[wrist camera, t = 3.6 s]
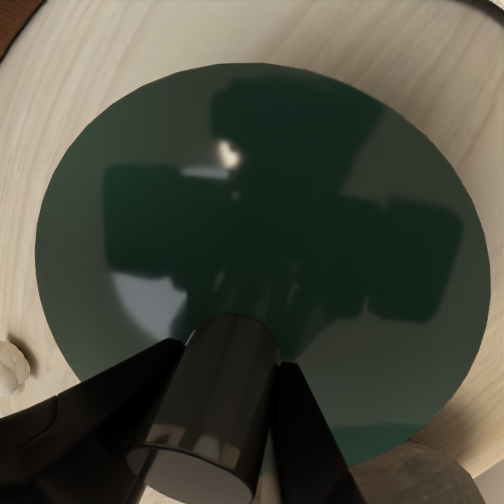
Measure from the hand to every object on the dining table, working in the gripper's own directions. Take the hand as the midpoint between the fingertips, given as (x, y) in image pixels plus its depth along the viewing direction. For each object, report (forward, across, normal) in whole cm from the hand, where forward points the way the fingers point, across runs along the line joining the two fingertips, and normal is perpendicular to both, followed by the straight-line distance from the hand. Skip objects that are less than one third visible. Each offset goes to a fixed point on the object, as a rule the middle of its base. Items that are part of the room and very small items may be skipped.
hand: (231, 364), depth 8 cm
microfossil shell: (+9, +22, +15) cm, 28 cm away
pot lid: (+1, 0, 0) cm, 1 cm away
